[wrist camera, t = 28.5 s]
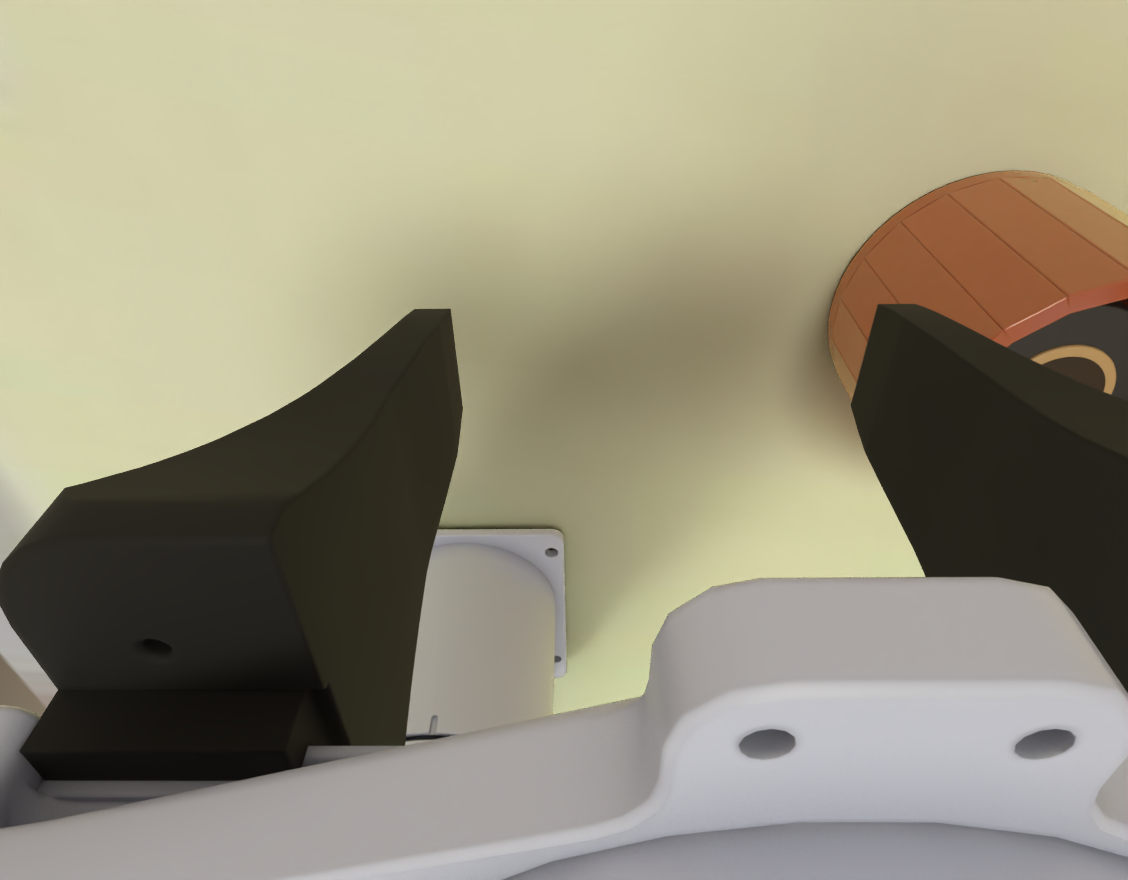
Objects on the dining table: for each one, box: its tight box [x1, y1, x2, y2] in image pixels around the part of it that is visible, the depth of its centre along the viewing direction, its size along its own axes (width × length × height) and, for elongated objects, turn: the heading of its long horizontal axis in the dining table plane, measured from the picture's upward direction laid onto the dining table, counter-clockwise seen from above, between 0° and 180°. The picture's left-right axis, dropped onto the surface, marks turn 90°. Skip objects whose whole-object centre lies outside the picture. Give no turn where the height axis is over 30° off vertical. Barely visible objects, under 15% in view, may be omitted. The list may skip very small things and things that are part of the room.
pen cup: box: [828, 171, 1128, 400], centre depth 21 cm, size 9×9×7 cm
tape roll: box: [1007, 301, 1128, 401], centre depth 21 cm, size 5×5×4 cm
